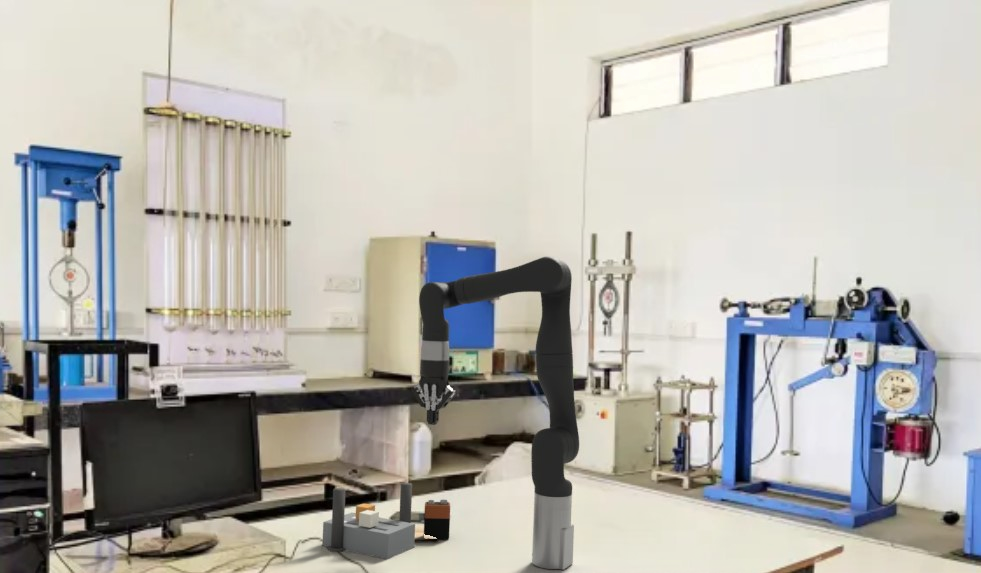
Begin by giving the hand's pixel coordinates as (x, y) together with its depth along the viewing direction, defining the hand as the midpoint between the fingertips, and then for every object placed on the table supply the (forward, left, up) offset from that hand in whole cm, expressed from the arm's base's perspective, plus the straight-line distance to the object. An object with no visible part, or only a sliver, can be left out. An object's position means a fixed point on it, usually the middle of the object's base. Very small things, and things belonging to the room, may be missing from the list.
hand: (432, 424), depth 219 cm
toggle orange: (+14, +9, -25) cm, 30 cm away
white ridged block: (+9, +14, -25) cm, 30 cm away
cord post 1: (+16, +18, -31) cm, 39 cm away
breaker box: (+11, +11, -31) cm, 35 cm away
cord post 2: (+6, +2, -31) cm, 32 cm away
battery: (+1, -6, -31) cm, 32 cm away
